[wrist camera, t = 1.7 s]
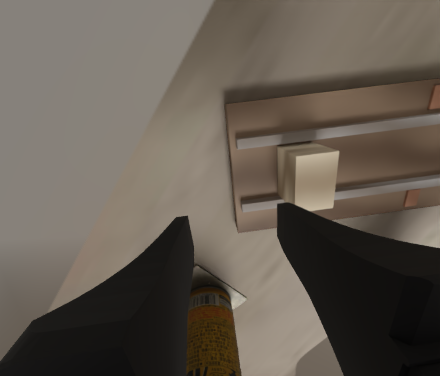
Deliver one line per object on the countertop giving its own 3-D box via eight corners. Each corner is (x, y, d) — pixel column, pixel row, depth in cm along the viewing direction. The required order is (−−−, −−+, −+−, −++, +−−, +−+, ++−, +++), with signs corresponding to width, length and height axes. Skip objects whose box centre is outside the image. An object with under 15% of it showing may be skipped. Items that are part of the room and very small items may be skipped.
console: (451, 195, 22) (477, 204, 20) (236, 225, 22) (239, 237, 20) (494, 71, 18) (533, 67, 16) (224, 104, 17) (227, 103, 15)
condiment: (207, 328, 28) (210, 477, 17) (156, 299, 25) (119, 453, 14) (246, 297, 26) (278, 439, 15) (197, 263, 23) (190, 404, 12)
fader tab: (309, 189, 19) (333, 208, 16) (277, 193, 19) (294, 213, 16) (312, 142, 17) (339, 150, 14) (277, 146, 17) (296, 156, 14)
